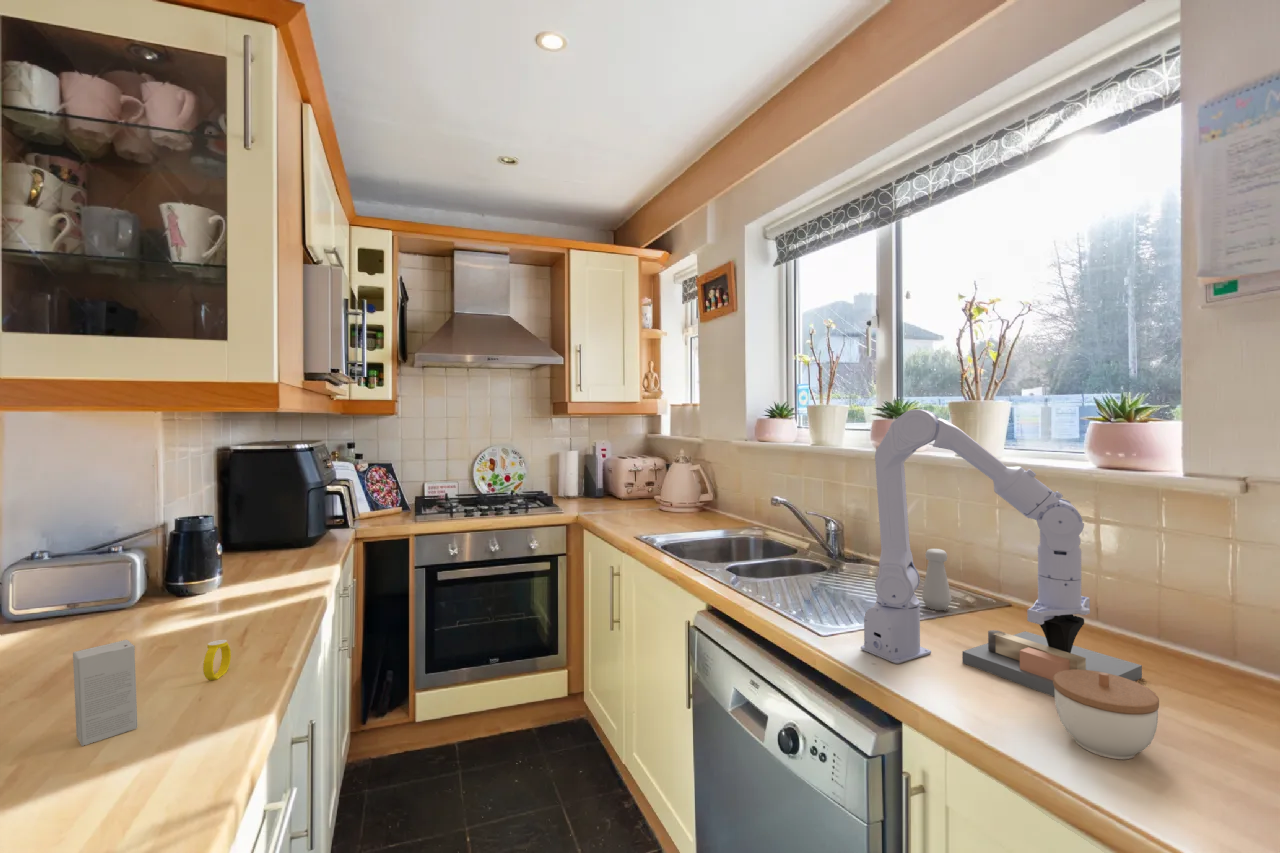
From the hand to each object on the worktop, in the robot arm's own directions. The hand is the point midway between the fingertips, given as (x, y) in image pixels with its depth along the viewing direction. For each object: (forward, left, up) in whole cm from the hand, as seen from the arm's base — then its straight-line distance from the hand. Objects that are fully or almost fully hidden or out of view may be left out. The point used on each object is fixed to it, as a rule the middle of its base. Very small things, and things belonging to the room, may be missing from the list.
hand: (1059, 660), depth 96 cm
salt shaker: (+16, +33, -3) cm, 37 cm away
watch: (-120, +72, -3) cm, 140 cm away
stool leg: (-2, +3, -1) cm, 4 cm away
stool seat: (+3, +3, -3) cm, 5 cm away
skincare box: (-131, +57, -3) cm, 143 cm away
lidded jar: (-16, -13, -3) cm, 21 cm away
